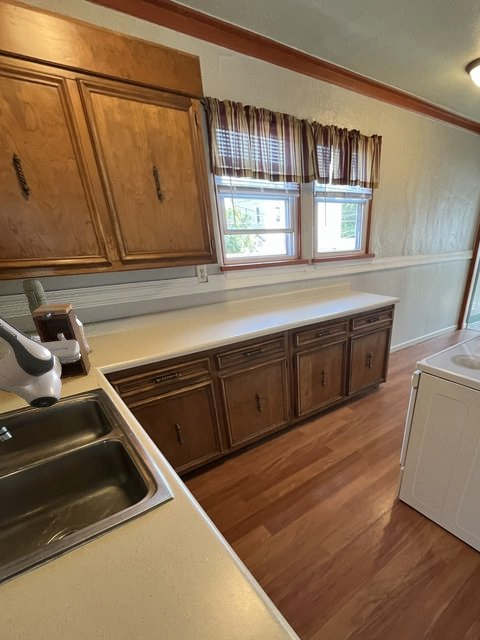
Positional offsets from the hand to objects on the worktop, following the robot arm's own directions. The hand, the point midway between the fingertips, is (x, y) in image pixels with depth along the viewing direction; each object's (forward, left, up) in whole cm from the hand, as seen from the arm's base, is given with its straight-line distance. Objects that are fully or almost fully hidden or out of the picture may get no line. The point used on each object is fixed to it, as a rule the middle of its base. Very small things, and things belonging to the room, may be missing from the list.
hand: (45, 336), depth 116 cm
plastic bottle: (+29, +39, -22) cm, 53 cm away
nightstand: (+13, +18, -22) cm, 31 cm away
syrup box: (+9, +34, -22) cm, 41 cm away
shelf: (+12, +16, +4) cm, 20 cm away
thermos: (+26, +60, -22) cm, 69 cm away
